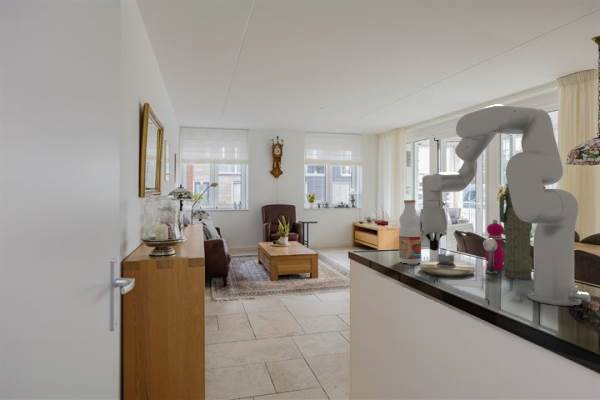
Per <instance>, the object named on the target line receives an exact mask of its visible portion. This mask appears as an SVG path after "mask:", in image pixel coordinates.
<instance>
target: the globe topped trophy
mask: <svg viewBox="0 0 600 400" xmlns="http://www.w3.org/2000/svg"><path fill="white" fill-rule="evenodd" d="M482 246H483V249H484V250H485V252H487V251H489V269H487V270H485V274H487V275H498V270H497V271H496V270H494V250H496V248H497V242H496V241H495V240H494V239H492V238H485V239H484V240H483V241H482Z"/></svg>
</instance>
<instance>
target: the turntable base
mask: <svg viewBox="0 0 600 400" xmlns="http://www.w3.org/2000/svg"><path fill="white" fill-rule="evenodd" d="M424 272H425V273H426V274H429V275H433V276H438V277H447V278H460V277H461V278H462V277H467V276H469V275H470V274H465V275H446V274H436V273H430V272H426V271H424Z"/></svg>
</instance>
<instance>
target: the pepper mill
mask: <svg viewBox="0 0 600 400" xmlns="http://www.w3.org/2000/svg"><path fill="white" fill-rule="evenodd" d="M498 222H499V221H498V220H497V219H492V223H489V224H488V225H487V227H486V232H487V233H488V235H487V236H488V238H492V239H494V240H495V241H496V242H497V248H496V250H494V271H496V270H497V271H498V270H499V271H502V270H504V256H505V252H504V250H503V248H502V247H503V246H502V239H503V235H502V234H503V233H504V232H505V230H504V225H502V224H500V223H498ZM484 257H485V260H486V262H487V263H486V269H487V270H489V251H485V256H484Z"/></svg>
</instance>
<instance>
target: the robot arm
mask: <svg viewBox="0 0 600 400" xmlns="http://www.w3.org/2000/svg"><path fill="white" fill-rule="evenodd" d="M551 118H552V117H551V116H550V114H549V113H548V112H547V111H546V110H544V109H542V108H538V107H527V106H519V105H518V106H517V105H506V104H494V105H489V106H485V107H483V108H480V109H476V110H474V111H471V112H470V111H469V112H468V113H465V114H464V115H463V116H461V117H460V119H458V121H457V123H456V126H455V132H456V135H457V136H458V137H459V138H461V139H460V141H459V142H458V144H457V145H456V147H455V148H454V152H455V154H456V156H457V157H458V158H459V159H460V160H462V161H463V163H462V164H461V167H460V168H459V170H458V171H457V172H437V173H434V174H425V175H424V176H423V177H422V178H421V179H422V180H421V185H422V186H421V187H422V208H421V209H420V213H419V216H420V221H419V230H420V232H421V233H420V235H421V237H425V238H426V239H428V241H429V249H430V251H438V250H439V241H440V239H441V238H442V237H445V236H447V234H448V233H447V230H448V224H447V223H448V222H447V215H446V211H445V208H444V206H446V203H447V202H445V201H444V200H443V193H452V192H454V193H457V192H458V193H459V192H462V191H463V190H465V189H466V188H467V187H468V186H469V185H470V183H471V182H472V181H473V180H474V178H476V177H475V176H476V175H477V172H478V171H477V170H478V159H479V158H480V157H481V155H482V154H483V152H485V150H486V149H487V147H488V146H489V145H490V143H491V142H492V140H493V139H494V138H495V137H496V136H497V134H503V135H504V134H505V135H506V134H507V135H522V136H521V140H520V141H521V142H520V144H521V145H520V146H521V150H522V152H517V153H516V154H514V155H513V156H511V157H510V159H508V161H507V164H506V168H505V178H506V182H507V184H508V188H509V192H510V197H511V201H512V206H513V209H514V212H515V214H516V215H517V217H518V218H519V219H520V220H522V221H523V222H526V223H533V224H536V227H535V230H534V232H533V233H534V235H533V290H529V291H528V292H527V297H528V299H530V300H532V301H534V302H537V303H542V304H547V305H554V306H559V307H562V306H563V307H573V306H574V305H576V306H580V305H581V304H582V301H583V302H586V303H590V302H591V300H592V296H591V294H590V293H588V292H583V291H580V290H579V287H580V286H579V285H575V232H576V230H575V229H576V224H577V220H578V219H577V218H578V215H579V203H578V200H577V197H575V196H574V194H572V193H571V192H569V191H567V190H564V189H562V188H561V189H560V188H544V186H549V185H550V186H551V185H554V184H556V183H558V182H560V181H561V179H562V178H563V175H564V167H563V163H562V159H561V158H562V157H561V155H560V152H559V147H558V142H557V141H556V137H555V132H554V128H553V127H554V126H553V121H552V119H551ZM533 224H532V225H533Z"/></svg>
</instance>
